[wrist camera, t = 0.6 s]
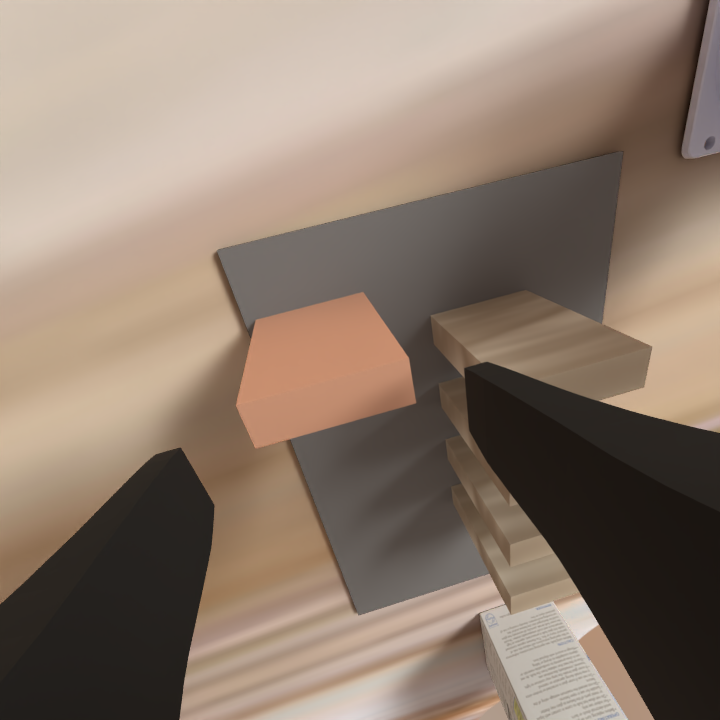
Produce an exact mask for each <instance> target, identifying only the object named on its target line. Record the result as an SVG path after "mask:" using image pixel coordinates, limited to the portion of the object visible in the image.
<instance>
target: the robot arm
mask: <svg viewBox="0 0 720 720" xmlns="http://www.w3.org/2000/svg"><path fill="white" fill-rule="evenodd" d="M705 141H706V144H705ZM704 144H705V146H704ZM719 152H720V0H710V2H709V8H708V13H707V18H706V23H705V29H704V34H703V39H702V44H701V50H700V55H699V60H698V65H697V71H696V76H695V81H694V86H693V92H692V97H691V102H690V108H689V113H688V118H687V123H686V129H685V134H684V139H683V144H682V156H683V157H684V158H685V159H694V158H699V157H703V156H707V155H711V154H715V153H719ZM464 374H465V387H466V399H467V412H468V424H469V431H470V433H471V435H472V437H473V439H474V440H475V442H476V444H477V446H478V448H479V449H480V451H481V453H482V454H483V456H484V458H485V460H486V461H487V463H488V464H489V466H490V467H491V468H492V470H493V471H494V473H495V474H496V475H497V477H498V478H499V479H500V481H501V482H502V483H503V485H504V486H505V487H506V489H507V490H508V491H509V493H510V494H511V495H512V497H513V498H514V499H515V501H516V502H517V503H518V504H519V506H520V507H521V508H522V510H523V511H524V512H525V514H526V515H527V516H528V518H529V519H530V520H531V522H532V523H533V524H534V526H535V527H536V528H537V530H538V531H539V532H540V533H541V535H542V536H543V537H544V539H545V540H546V542H547V543H548V544H549V546H550V547H551V549H552V550H553V552H554V553H555V554H556V556H557V557H558V559H559V560H560V562H561V563H562V565H563V567H564V568H565V570H566V571H567V573H568V575H569V576H570V578H571V579H572V581H573V583H574V584H575V586H576V587H577V589H578V591H579V592H580V594H581V595H582V597H583V599H584V600H585V602H586V603H587V605H588V607H589V608H590V610H591V612H592V613H593V615H594V617H595V618H596V620H597V622H598V623H599V625H600V627H601V628H602V630H603V632H604V633H605V635H606V637H607V638H608V640H609V642H610V643H611V645H612V647H613V648H614V650H615V652H616V653H617V655H618V657H619V658H620V660H621V662H622V664H623V665H624V667H625V669H626V671H627V673H628V674H629V676H630V678H631V679H632V681H633V683H634V685H635V686H636V688H637V690H638V692H639V693H640V695H641V697H642V698H643V700H644V702H645V704H646V706H647V707H648V709H649V711H650V713H651V714H652V716H653V718H654V719H655V720H720V433H717V432H712V431H708V430H703V429H699V428H694V427H690V426H686V425H682V424H678V423H674V422H670V421H666V420H662V419H658V418H654V417H650V416H646V415H643V414H639V413H636V412H632V411H629V410H625V409H622V408H619V407H616V406H612V405H609V404H606V403H603V402H600V401H596V400H593V399H590V398H587V397H584V396H581V395H578V394H575V393H572V392H570V391H567V390H564V389H561V388H558V387H556V386H553V385H550V384H547V383H545V382H542V381H539V380H537V379H534V378H531V377H529V376H526V375H524V374H521V373H518V372H516V371H513V370H510V369H508V368H505V367H502V366H499V365H496V364H493V363H490V362H483V363H480V364H476V365H473V366H469V367H466V368H464ZM213 521H214V504H213V502H212V500H211V498H210V497H209V495H208V493H207V492H206V490H205V488H204V486H203V485H202V483H201V481H200V480H199V478H198V476H197V475H196V473H195V471H194V469H193V468H192V466H191V464H190V463H189V461H188V459H187V457H186V456H185V454H184V452H183V451H182V449H181V448H177V449H174V450H170V451H166V452H163V453H159V454H156V455H154V456H153V457H152V458H151V459H150V460H149V461H147V462H146V463H145V464H144V465H143V466H142V467H141V468H140V469H139V470H138V471H137V472H136V473H135V474H134V475H133V476H132V477H131V478H130V479H129V480H128V481H127V482H126V483H125V484H124V485H123V486H122V487H121V488H120V489H119V490H118V491H117V492H116V493H115V494H114V495H113V496H112V497H111V498H110V499H109V500H108V501H107V502H106V503H105V504H104V505H103V506H102V507H101V508H100V509H99V510H98V511H97V512H96V513H95V514H94V515H93V516H92V517H91V518H90V519H89V520H88V521H87V522H86V523H85V524H84V525H83V526H82V527H81V528H80V529H79V530H78V531H77V532H76V533H75V534H74V535H73V536H72V537H71V538H70V539H69V540H68V541H67V542H66V543H65V544H64V545H63V546H62V547H61V548H60V549H59V550H58V551H57V552H56V553H55V554H54V555H53V556H51V557H50V558H49V559H48V560H47V561H46V562H45V563H44V564H43V565H42V566H41V567H40V568H39V569H38V570H37V571H36V572H35V573H34V574H33V575H32V576H31V577H30V578H29V579H28V580H26V581H25V582H24V583H23V584H22V585H21V586H20V587H19V588H18V589H17V590H16V591H15V592H13V593H12V594H11V595H10V596H9V597H8V598H7V599H6V600H5V601H4V602H2V603H1V604H0V720H179V718H180V710H181V702H182V694H183V685H184V679H185V673H186V667H187V661H188V656H189V651H190V646H191V641H192V637H193V632H194V627H195V623H196V618H197V613H198V609H199V604H200V599H201V595H202V590H203V585H204V581H205V576H206V571H207V566H208V561H209V556H210V551H211V545H212V534H213Z"/></svg>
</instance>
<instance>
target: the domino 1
mask: <svg viewBox="0 0 720 720" xmlns="http://www.w3.org/2000/svg"><path fill="white" fill-rule="evenodd" d="M415 403H416V399H415V393H414V386H413V380H412V374H411V368H410V362H409V357H408V356H407V355H406V353H405V352H404V350H403V349H402V347H401V346H400V344H399V343H398V342H397V340H396V339H395V337H394V336H393V334H392V333H391V331H390V330H389V329H388V327H387V326H386V324H385V323H384V321H383V320H382V318H381V317H380V316H379V314H378V313H377V311H376V310H375V308H374V307H373V305H372V304H371V303H370V301H369V300H368V298H367V297H366V295H365V294H364V292H361V293H357V294H353V295H349V296H346V297H342V298H338V299H334V300H330V301H326V302H322V303H319V304H315V305H311V306H307V307H303V308H299V309H295V310H292V311H288V312H284V313H280V314H276V315H272V316H269V317H265V318H261V319H257V320H256V321H255V325H254V329H253V334H252V338H251V342H250V347H249V351H248V355H247V359H246V364H245V368H244V372H243V377H242V381H241V385H240V390H239V394H238V398H237V403H236V407H237V409H238V412H239V414H240V416H241V418H242V420H243V423H244V425H245V427H246V429H247V431H248V433H249V436H250V438H251V440H252V442H253V444H254V447H255V449H257V448H260V447H264V446H267V445H271V444H274V443H278V442H281V441H285V440H289V439H292V438H296V437H299V436H303V435H306V434H310V433H313V432H317V431H320V430H324V429H327V428H331V427H334V426H338V425H341V424H345V423H348V422H352V421H355V420H359V419H363V418H366V417H370V416H373V415H377V414H380V413H384V412H387V411H391V410H394V409H398V408H401V407H405V406H408V405H412V404H415Z"/></svg>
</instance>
